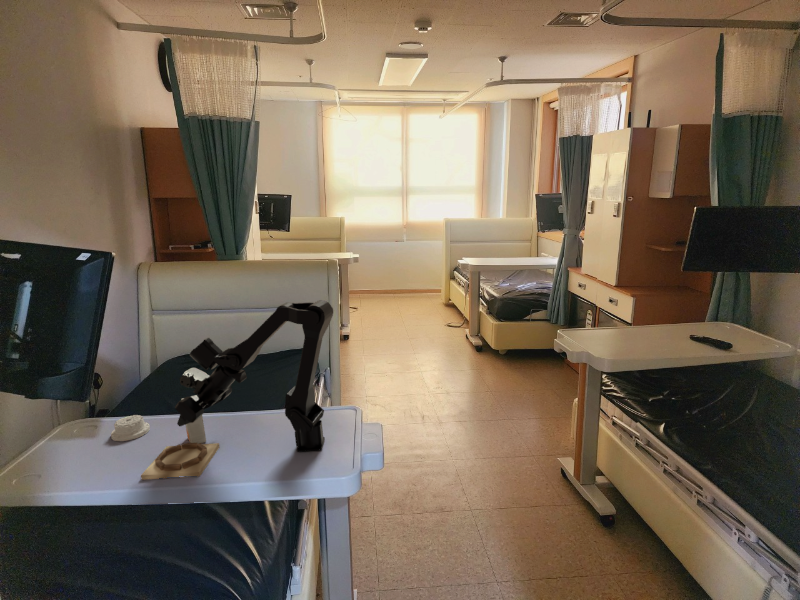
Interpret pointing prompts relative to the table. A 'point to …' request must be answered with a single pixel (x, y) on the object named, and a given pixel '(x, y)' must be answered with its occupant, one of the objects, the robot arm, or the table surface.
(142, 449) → the table surface
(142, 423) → the mechanical component
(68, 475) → the table surface
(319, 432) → the robot arm
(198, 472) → the board
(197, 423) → the skincare box
